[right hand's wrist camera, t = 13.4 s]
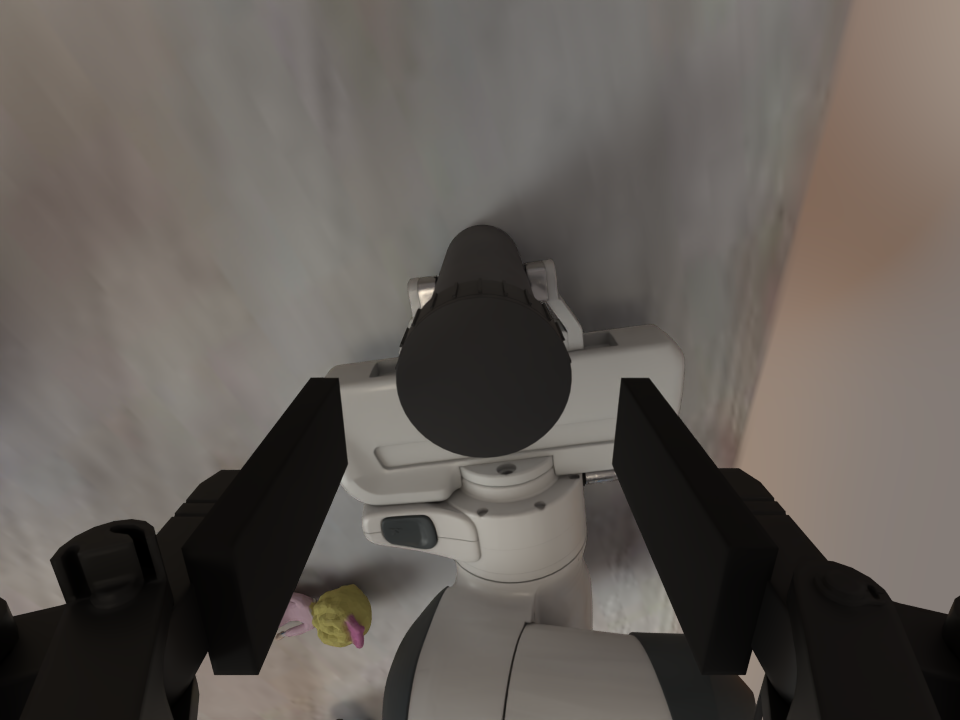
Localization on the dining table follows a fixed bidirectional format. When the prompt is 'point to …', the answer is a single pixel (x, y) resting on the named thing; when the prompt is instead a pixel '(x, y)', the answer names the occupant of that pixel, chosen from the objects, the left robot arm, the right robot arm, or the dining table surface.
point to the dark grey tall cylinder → (482, 259)
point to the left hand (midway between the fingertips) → (479, 270)
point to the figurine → (331, 616)
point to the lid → (483, 369)
